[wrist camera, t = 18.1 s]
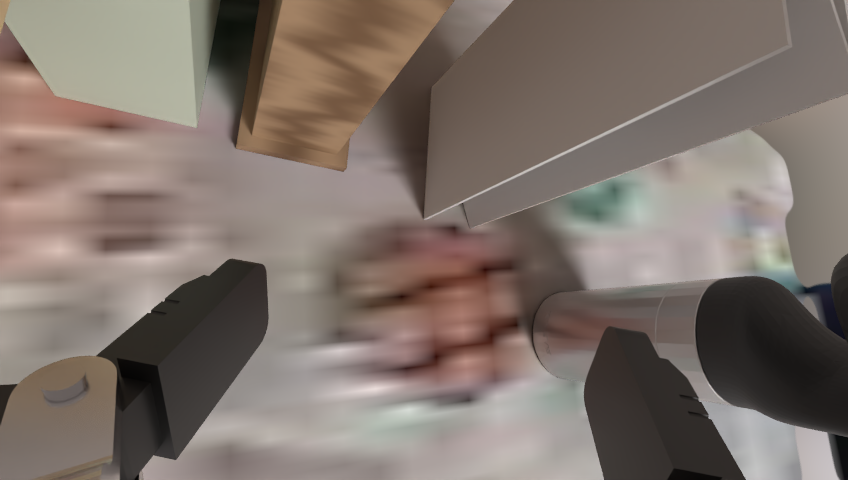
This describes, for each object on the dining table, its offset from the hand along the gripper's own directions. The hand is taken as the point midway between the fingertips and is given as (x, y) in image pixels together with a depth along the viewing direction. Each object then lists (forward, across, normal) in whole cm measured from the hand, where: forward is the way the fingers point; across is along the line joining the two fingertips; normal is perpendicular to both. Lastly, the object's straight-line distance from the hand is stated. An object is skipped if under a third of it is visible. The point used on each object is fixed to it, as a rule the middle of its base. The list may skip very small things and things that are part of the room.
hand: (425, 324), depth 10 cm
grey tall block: (+36, +1, +6) cm, 36 cm away
